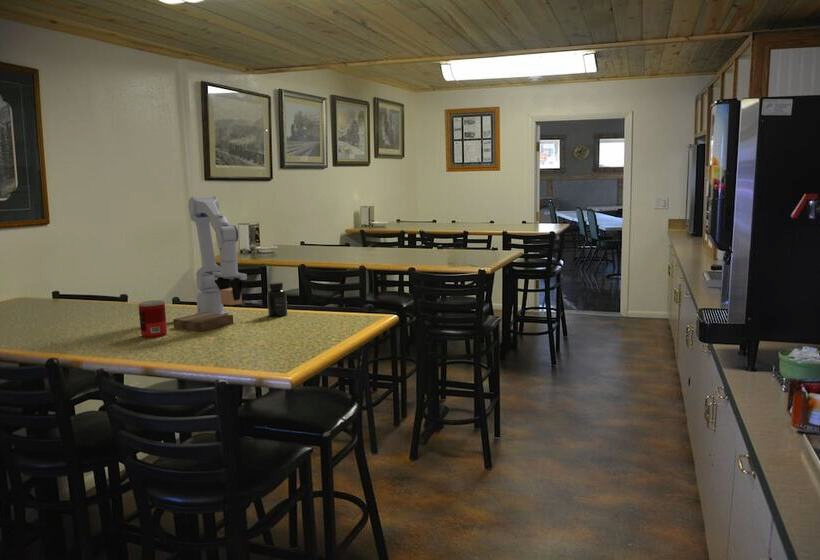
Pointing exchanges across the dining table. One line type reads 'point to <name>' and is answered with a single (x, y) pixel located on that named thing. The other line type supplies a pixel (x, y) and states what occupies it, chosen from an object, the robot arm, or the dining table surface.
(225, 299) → the terracotta cube
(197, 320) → the walnut base
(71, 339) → the dining table surface
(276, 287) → the supplement bottle
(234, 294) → the robot arm
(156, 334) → the canned food
